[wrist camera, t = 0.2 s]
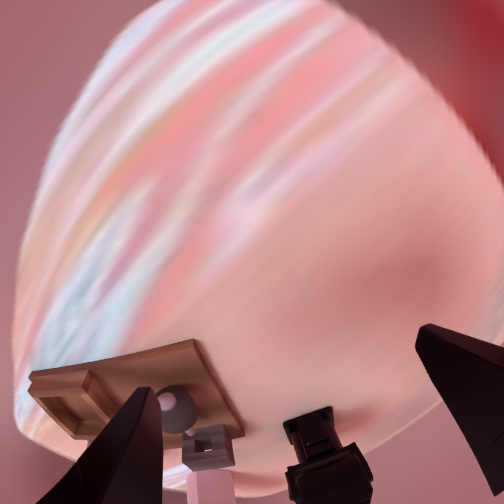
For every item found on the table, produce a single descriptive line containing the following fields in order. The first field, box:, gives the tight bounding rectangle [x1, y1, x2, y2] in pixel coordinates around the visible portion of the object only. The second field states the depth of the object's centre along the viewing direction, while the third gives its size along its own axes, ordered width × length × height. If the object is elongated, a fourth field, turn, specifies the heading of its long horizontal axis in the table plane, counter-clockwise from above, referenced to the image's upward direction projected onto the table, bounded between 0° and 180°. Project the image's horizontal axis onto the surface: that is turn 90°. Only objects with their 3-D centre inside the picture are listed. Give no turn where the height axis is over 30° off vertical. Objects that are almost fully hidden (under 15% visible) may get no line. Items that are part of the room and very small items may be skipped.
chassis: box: [28, 339, 245, 472], centre depth 23 cm, size 16×22×6 cm
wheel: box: [156, 386, 199, 436], centre depth 22 cm, size 6×4×4 cm
